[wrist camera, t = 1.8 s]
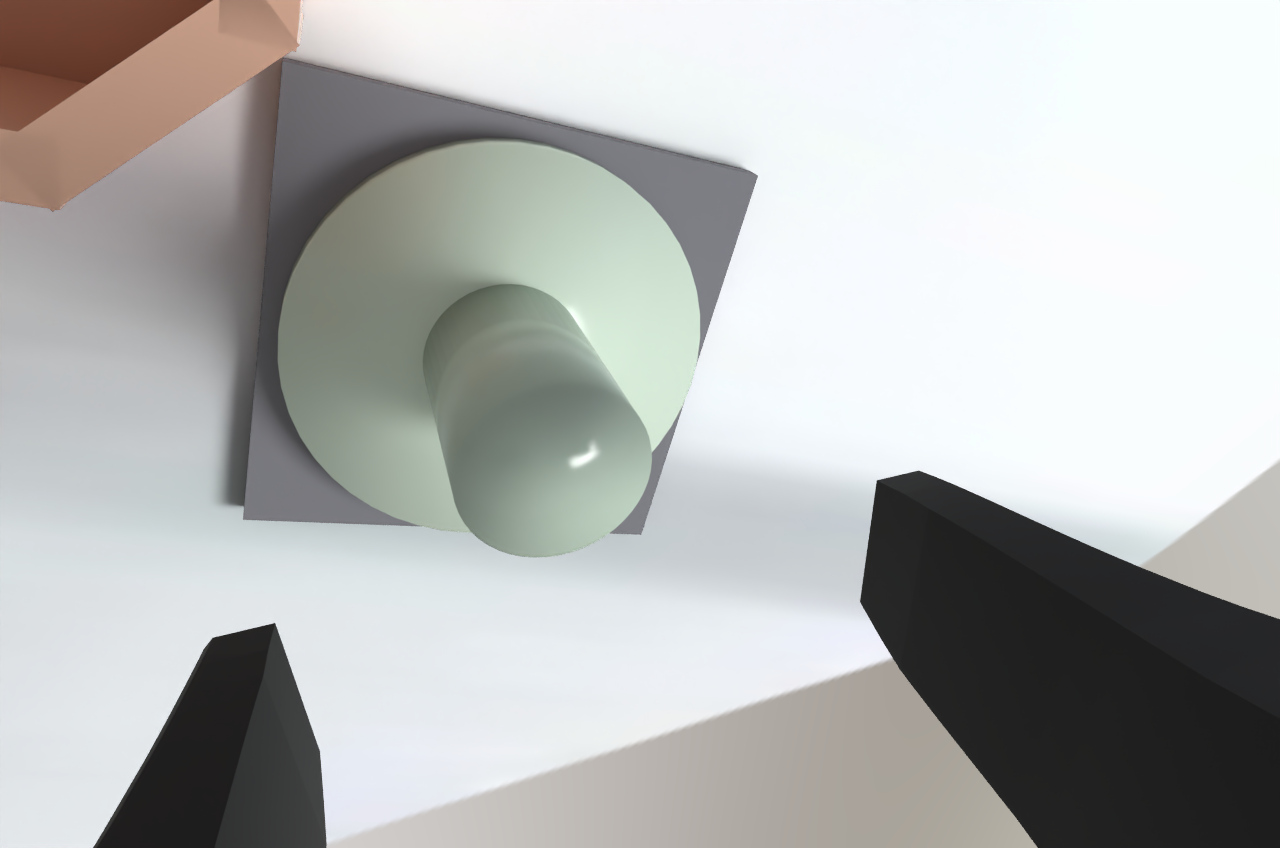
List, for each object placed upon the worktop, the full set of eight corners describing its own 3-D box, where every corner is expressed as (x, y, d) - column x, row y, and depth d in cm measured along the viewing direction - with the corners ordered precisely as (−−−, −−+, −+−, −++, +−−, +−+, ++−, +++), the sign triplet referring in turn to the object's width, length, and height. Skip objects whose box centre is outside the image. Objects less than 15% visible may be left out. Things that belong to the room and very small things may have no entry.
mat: (749, 170, 16) (758, 175, 16) (635, 524, 20) (640, 534, 20) (282, 57, 13) (282, 60, 13) (244, 507, 16) (243, 519, 16)
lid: (739, 188, 16) (868, 267, 12) (632, 523, 19) (708, 667, 16) (302, 86, 13) (296, 149, 9) (260, 506, 16) (244, 682, 12)
